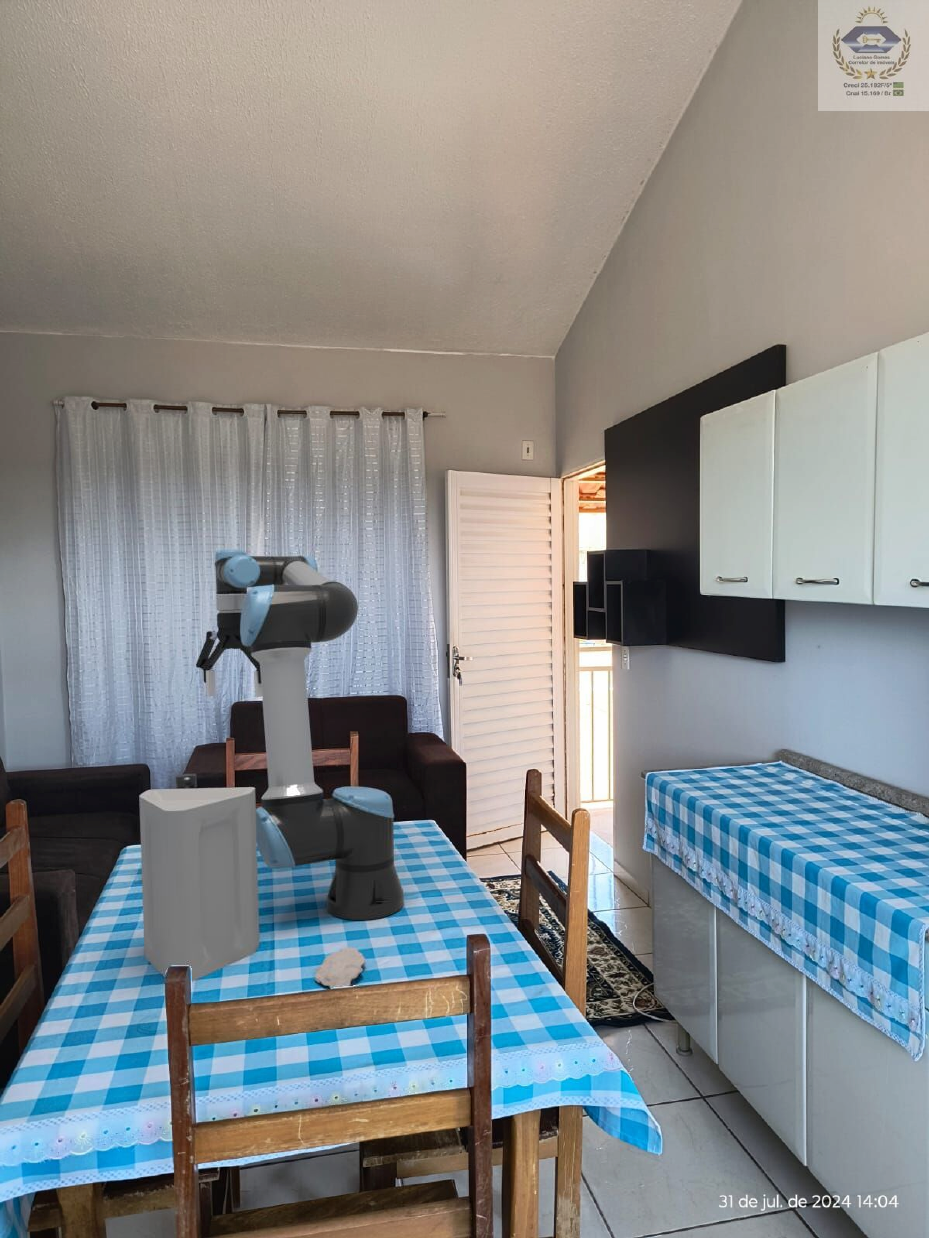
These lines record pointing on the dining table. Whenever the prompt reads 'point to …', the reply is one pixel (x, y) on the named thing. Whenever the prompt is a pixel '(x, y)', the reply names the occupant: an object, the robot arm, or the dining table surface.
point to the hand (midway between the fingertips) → (234, 696)
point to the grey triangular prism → (199, 877)
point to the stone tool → (340, 968)
